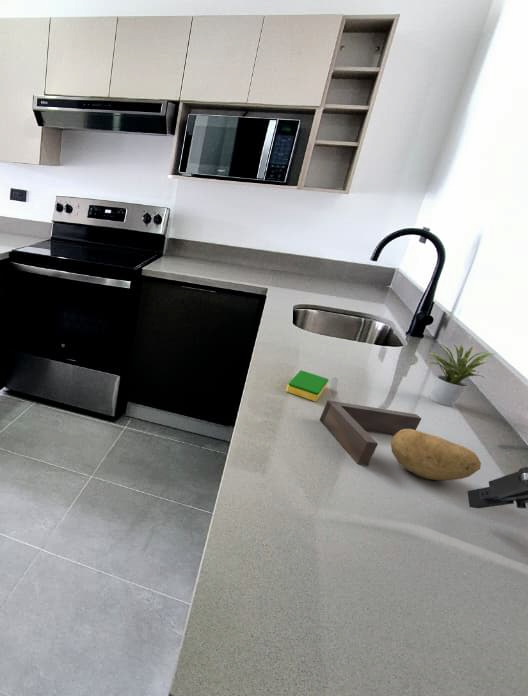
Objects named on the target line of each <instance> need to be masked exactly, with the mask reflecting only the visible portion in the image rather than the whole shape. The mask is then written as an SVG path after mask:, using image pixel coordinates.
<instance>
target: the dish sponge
mask: <svg viewBox="0 0 528 696" xmlns="http://www.w3.org/2000/svg"><path fill="white" fill-rule="evenodd" d="M329 381H330V380H329V378H327V377H324V376H320V375H317V374H314V373H311V372H307V371H305V370H302V369H301V370H299V371H298V372H297V373H296V375H295V376H294V377H293V378H291V380H290V381H289V382H288V384H287V387H286V389H285V392H287V393H289V394H292V395H295V396H298V397H300V398H304V399H306V400H309V401H312V402H317V400H318V399H319V398H320V396H321V395H322V394H323V392H324V391H325V389H326V387H327V385H328V383H329Z"/></svg>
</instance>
